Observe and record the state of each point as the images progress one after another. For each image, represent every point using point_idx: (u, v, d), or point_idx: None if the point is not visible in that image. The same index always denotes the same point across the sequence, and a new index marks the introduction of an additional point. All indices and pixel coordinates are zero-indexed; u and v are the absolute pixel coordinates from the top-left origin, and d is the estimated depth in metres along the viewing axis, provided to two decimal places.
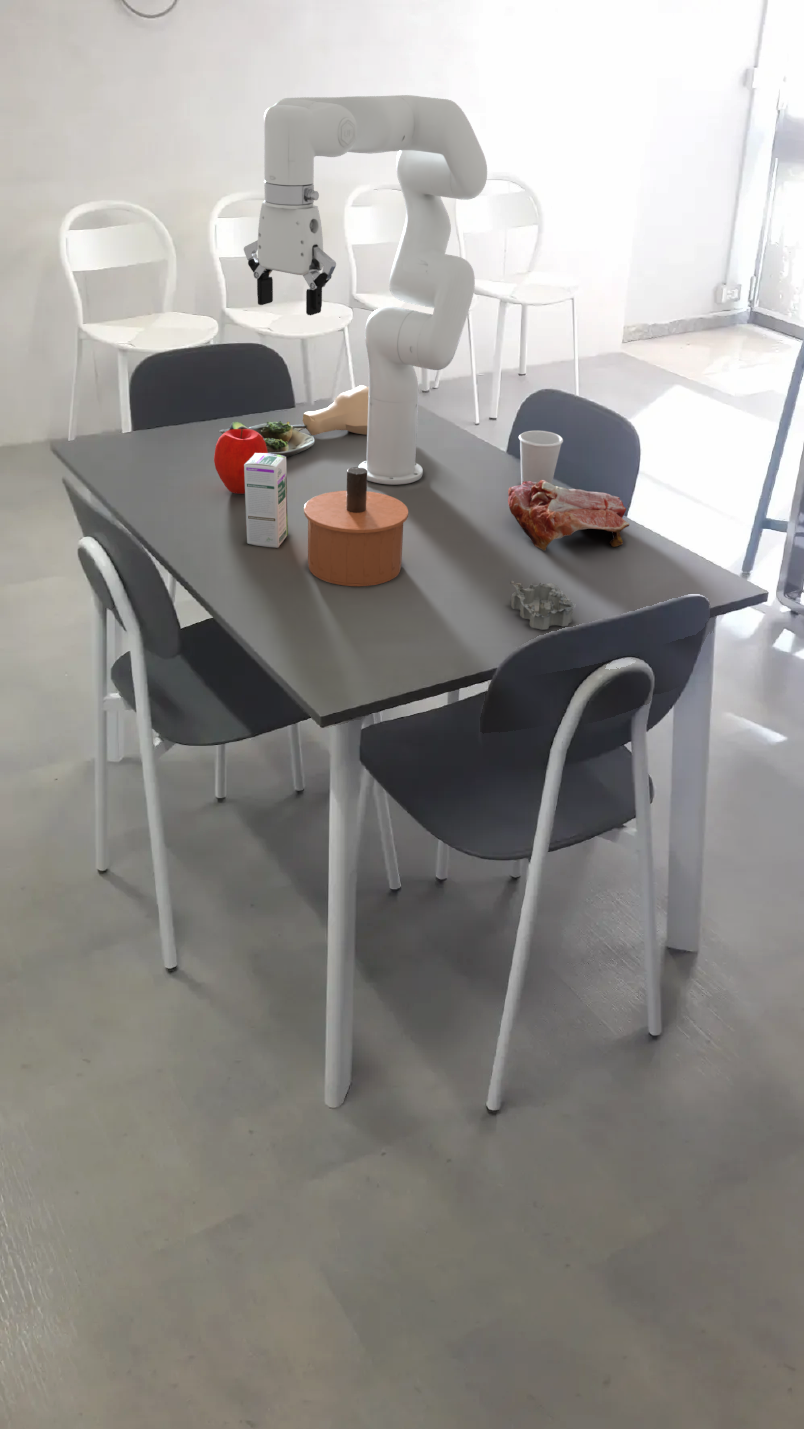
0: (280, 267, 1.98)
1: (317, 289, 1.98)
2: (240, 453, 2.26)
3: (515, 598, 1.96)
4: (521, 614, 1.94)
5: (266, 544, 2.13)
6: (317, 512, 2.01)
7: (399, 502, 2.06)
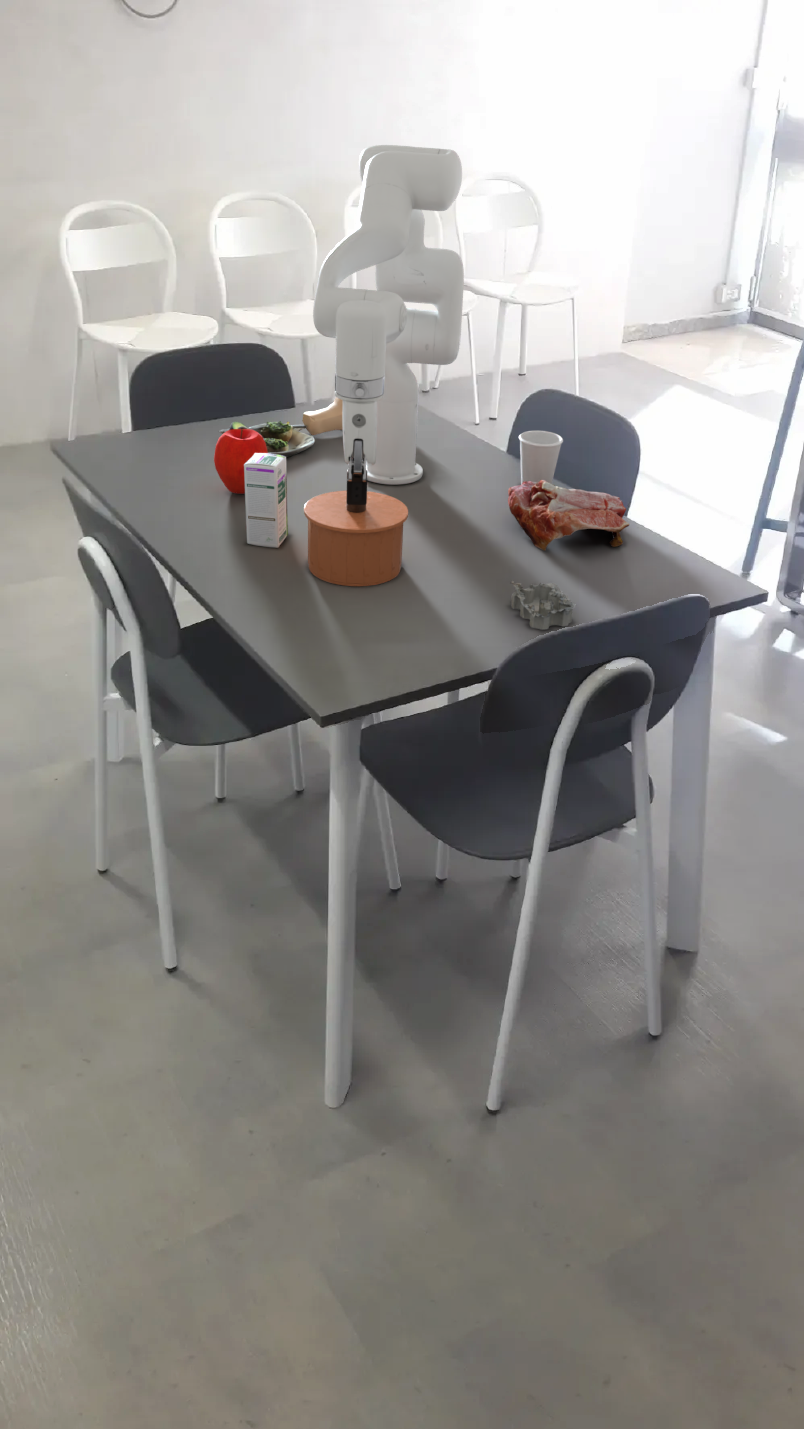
0: None
1: (354, 482, 1.97)
2: (240, 453, 2.26)
3: (515, 598, 1.96)
4: (521, 614, 1.94)
5: (266, 544, 2.13)
6: (317, 512, 2.01)
7: (399, 502, 2.06)
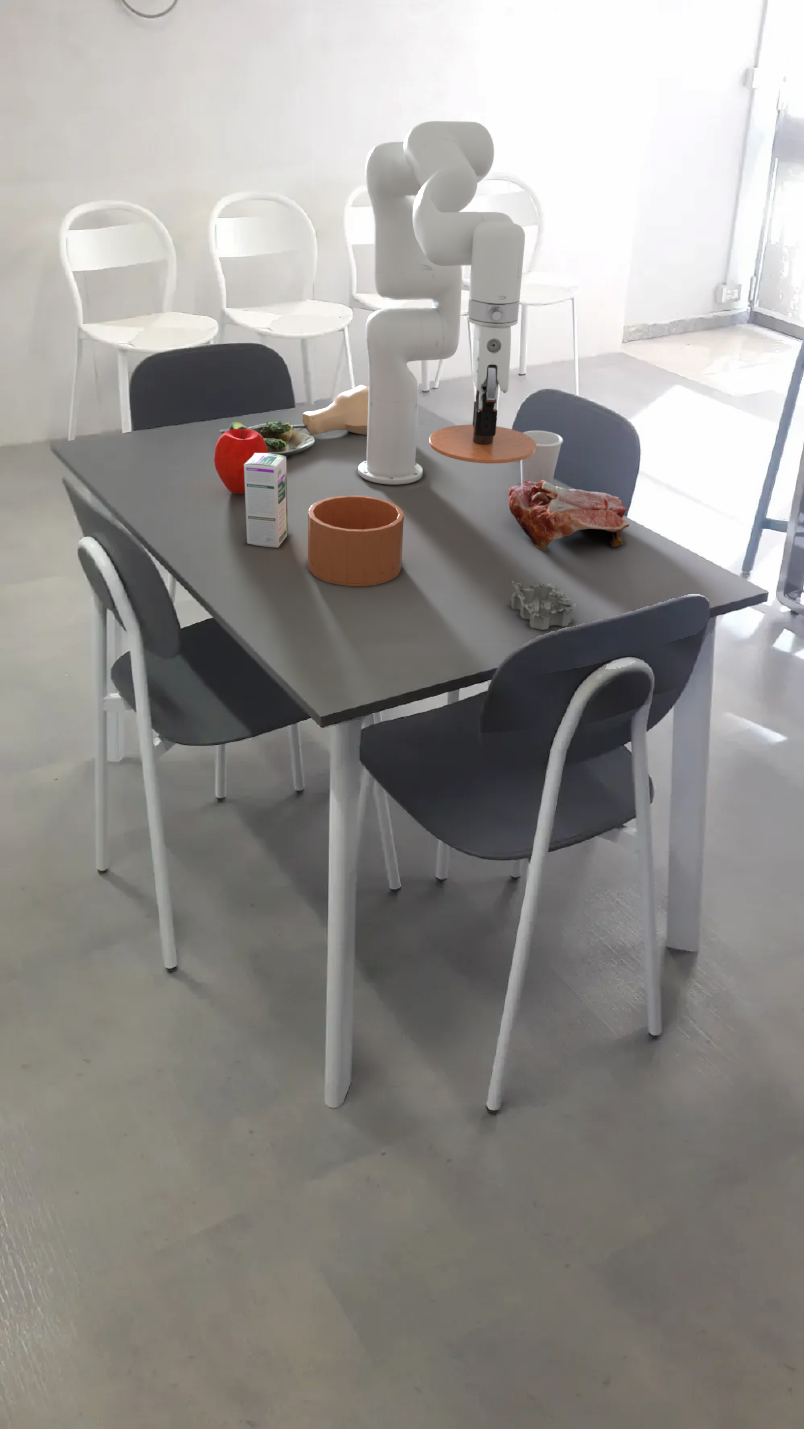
0: None
1: (484, 412, 1.92)
2: (240, 453, 2.26)
3: (515, 598, 1.96)
4: (521, 614, 1.94)
5: (266, 544, 2.13)
6: (444, 444, 1.96)
7: (525, 435, 2.01)
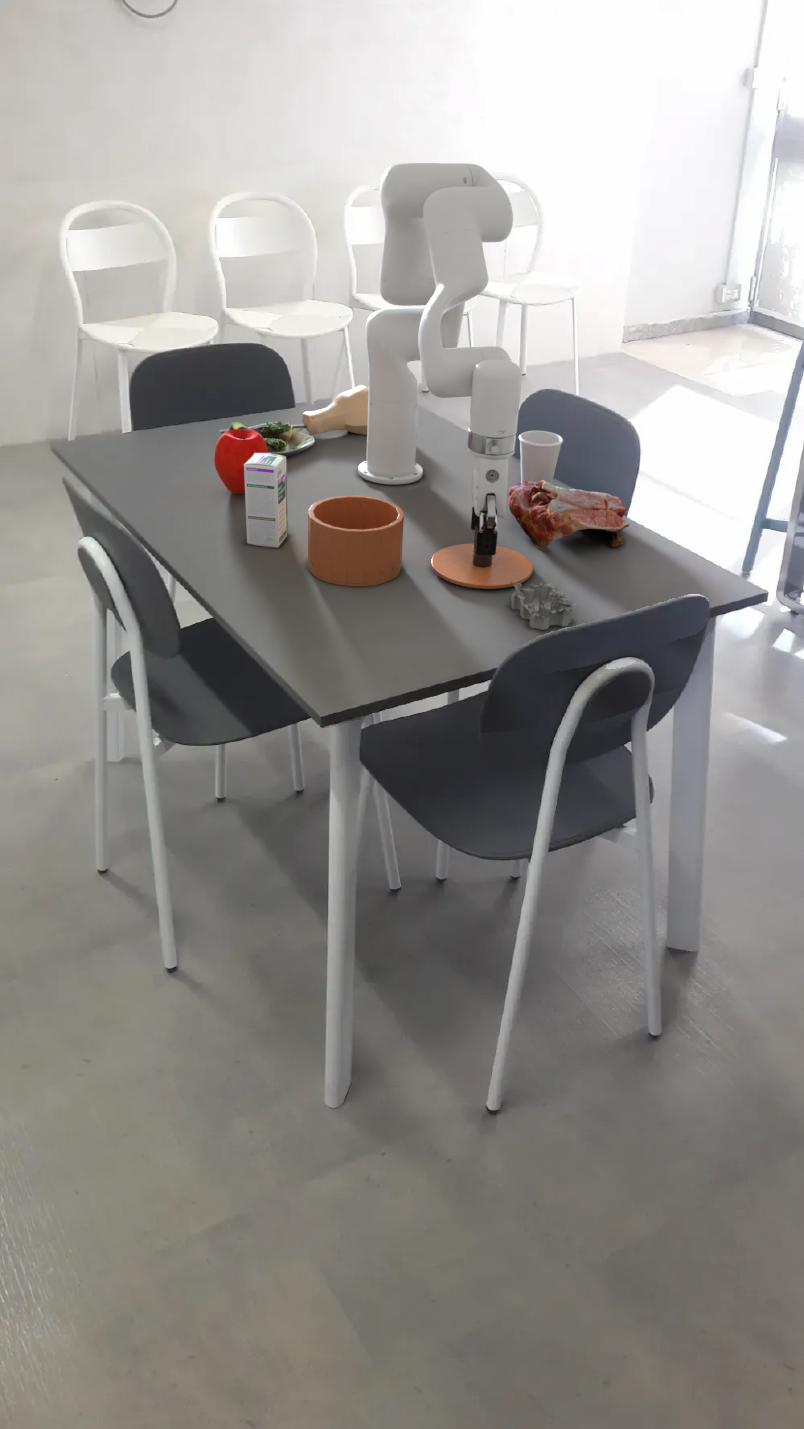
0: (473, 503, 2.03)
1: (485, 533, 2.00)
2: (240, 453, 2.26)
3: (515, 598, 1.96)
4: (521, 614, 1.94)
5: (266, 544, 2.13)
6: (445, 567, 2.06)
7: (522, 555, 2.12)
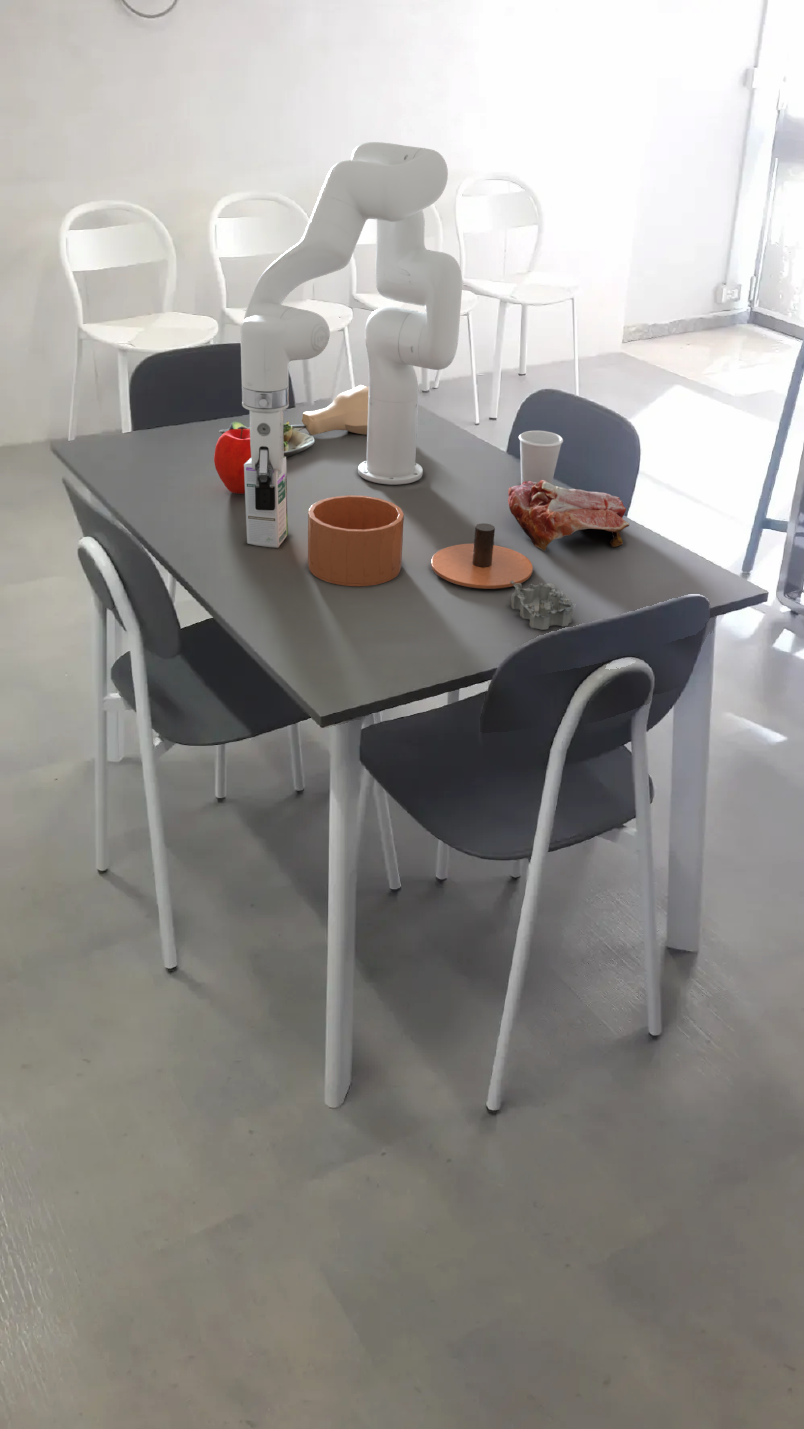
0: None
1: (261, 488, 2.06)
2: (240, 453, 2.26)
3: (515, 598, 1.96)
4: (521, 614, 1.94)
5: (266, 544, 2.13)
6: (445, 567, 2.06)
7: (522, 555, 2.12)
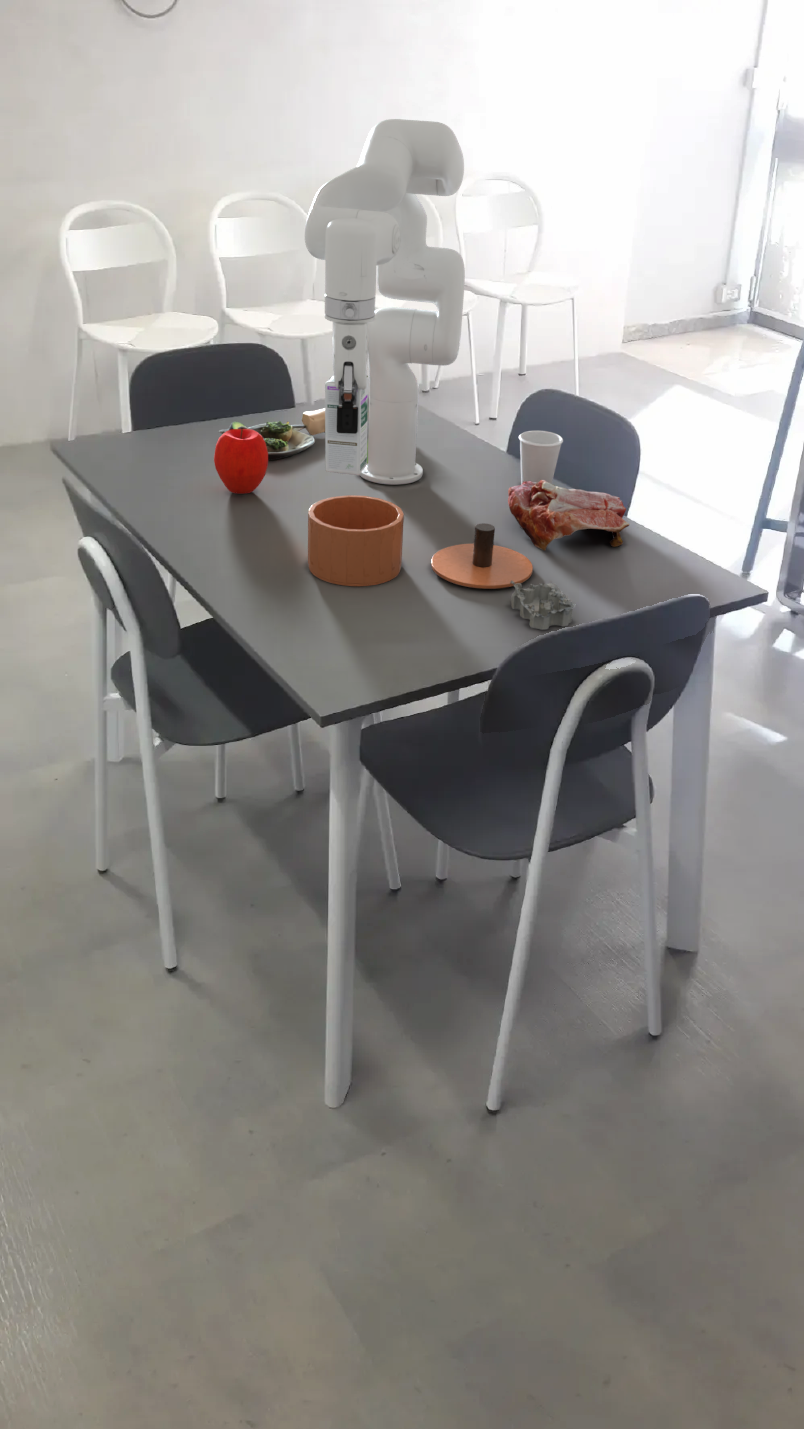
0: None
1: (344, 409, 1.91)
2: (240, 453, 2.26)
3: (515, 598, 1.96)
4: (521, 614, 1.94)
5: (346, 471, 1.98)
6: (445, 567, 2.06)
7: (522, 555, 2.12)
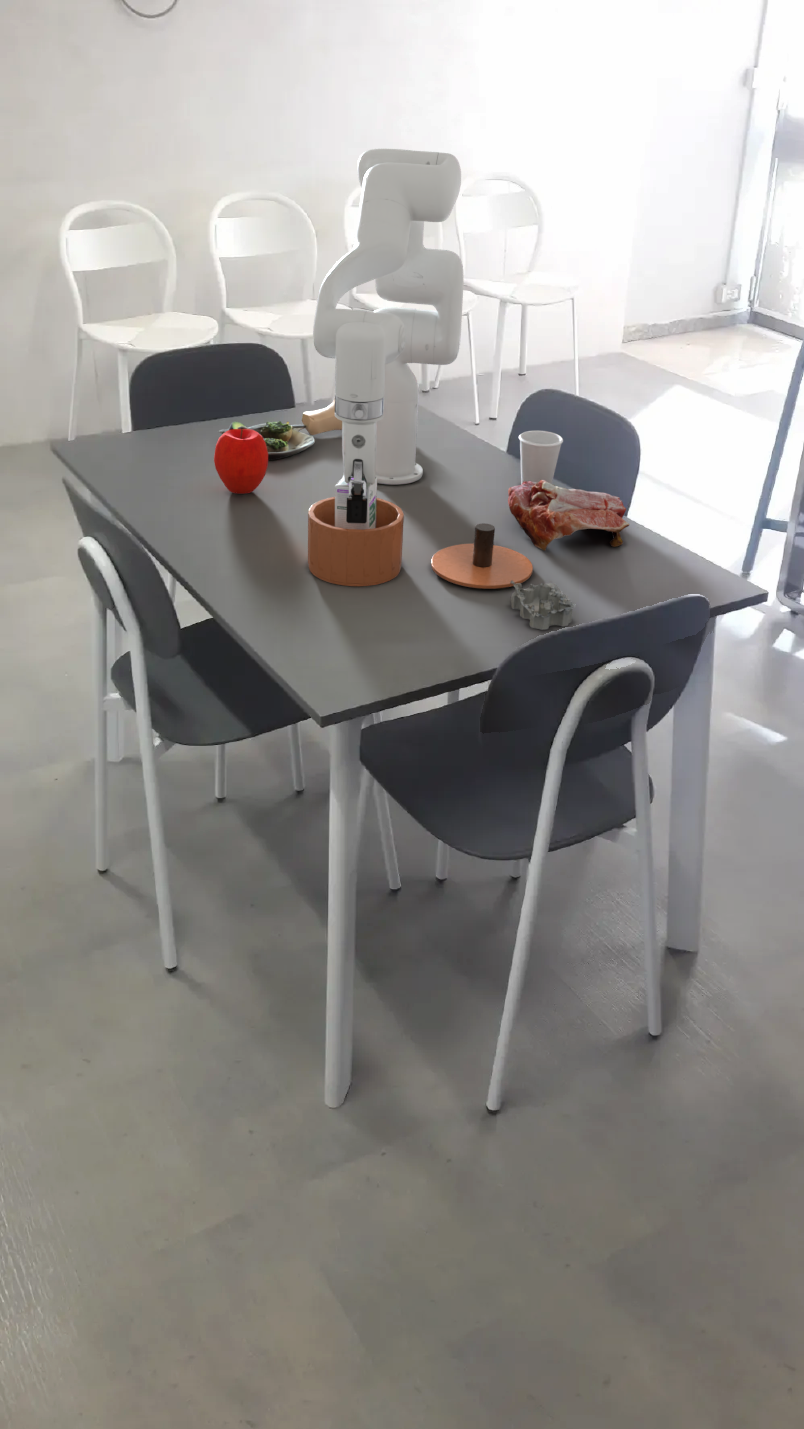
0: None
1: (354, 501, 1.96)
2: (240, 453, 2.26)
3: (515, 598, 1.96)
4: (521, 614, 1.94)
5: None
6: (445, 567, 2.06)
7: (522, 555, 2.12)
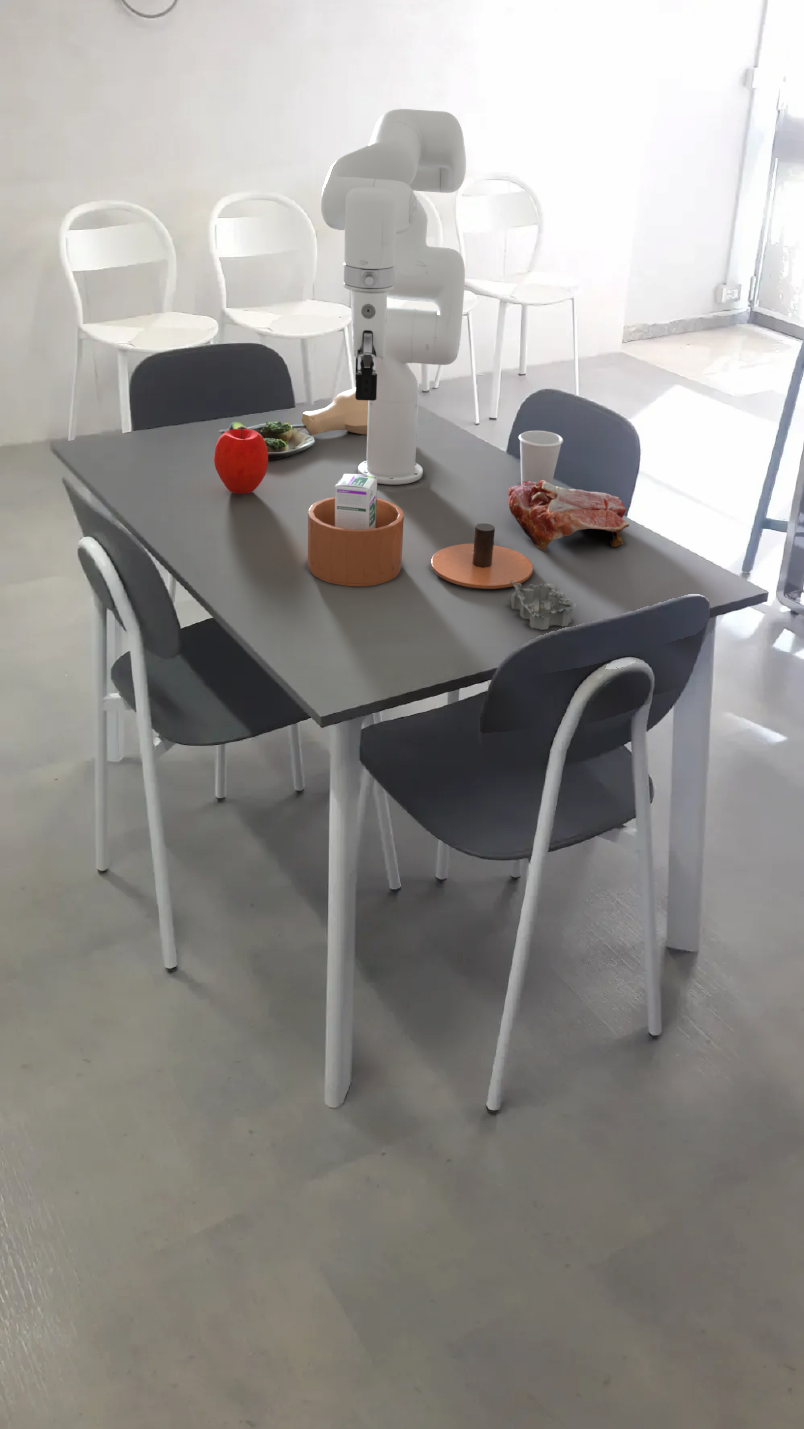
0: None
1: (363, 375, 1.90)
2: (240, 453, 2.26)
3: (515, 598, 1.96)
4: (521, 614, 1.94)
5: None
6: (445, 567, 2.06)
7: (522, 555, 2.12)
